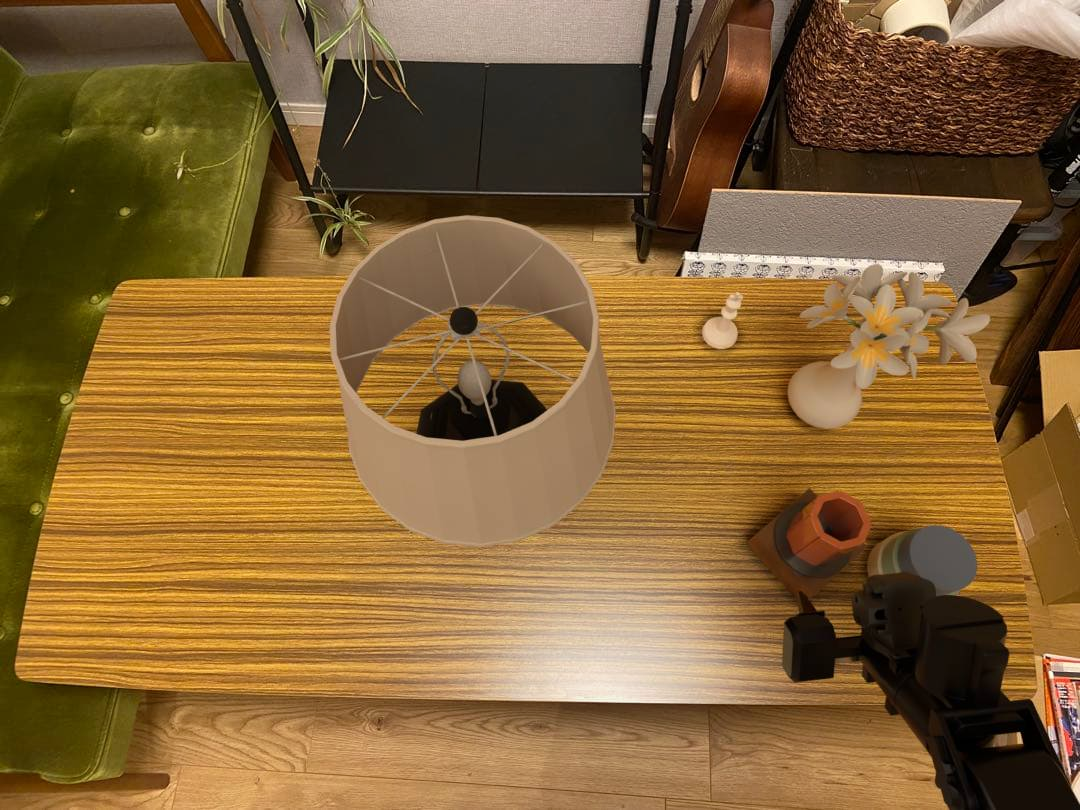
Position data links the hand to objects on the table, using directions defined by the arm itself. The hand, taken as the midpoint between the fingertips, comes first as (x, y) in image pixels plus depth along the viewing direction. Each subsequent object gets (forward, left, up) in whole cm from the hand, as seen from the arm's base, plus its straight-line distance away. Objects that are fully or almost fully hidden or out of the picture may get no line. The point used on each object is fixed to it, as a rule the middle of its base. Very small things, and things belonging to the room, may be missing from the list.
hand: (841, 590), depth 75 cm
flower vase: (+17, -20, -9) cm, 28 cm away
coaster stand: (+6, -3, -9) cm, 11 cm away
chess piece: (+33, -18, -9) cm, 39 cm away
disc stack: (-5, -11, -9) cm, 15 cm away
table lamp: (+35, +21, -9) cm, 42 cm away
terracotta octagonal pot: (+6, -4, -3) cm, 7 cm away
